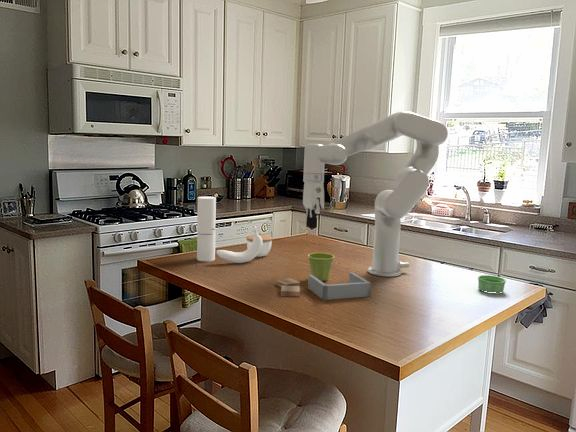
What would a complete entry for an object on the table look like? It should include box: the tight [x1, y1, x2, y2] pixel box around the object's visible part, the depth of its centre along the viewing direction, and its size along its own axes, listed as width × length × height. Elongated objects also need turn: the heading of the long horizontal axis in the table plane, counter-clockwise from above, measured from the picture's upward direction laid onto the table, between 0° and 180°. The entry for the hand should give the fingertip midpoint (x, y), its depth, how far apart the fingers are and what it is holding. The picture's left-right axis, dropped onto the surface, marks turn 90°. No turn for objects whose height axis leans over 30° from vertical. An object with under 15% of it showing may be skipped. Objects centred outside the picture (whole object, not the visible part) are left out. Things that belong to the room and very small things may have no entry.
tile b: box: [280, 285, 301, 297], centre depth 168 cm, size 6×6×2 cm
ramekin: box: [477, 274, 507, 293], centre depth 179 cm, size 9×9×4 cm
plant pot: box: [307, 252, 335, 282], centre depth 185 cm, size 9×9×9 cm
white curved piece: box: [215, 224, 263, 264], centre depth 204 cm, size 5×19×15 cm, turn 120°
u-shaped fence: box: [307, 271, 372, 301], centre depth 171 cm, size 16×13×4 cm
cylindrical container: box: [196, 195, 217, 262], centre depth 207 cm, size 7×7×25 cm
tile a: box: [275, 277, 301, 288], centre depth 176 cm, size 6×6×2 cm
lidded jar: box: [246, 232, 273, 258], centre depth 218 cm, size 11×11×9 cm
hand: (311, 227), depth 192 cm, fingers closed
